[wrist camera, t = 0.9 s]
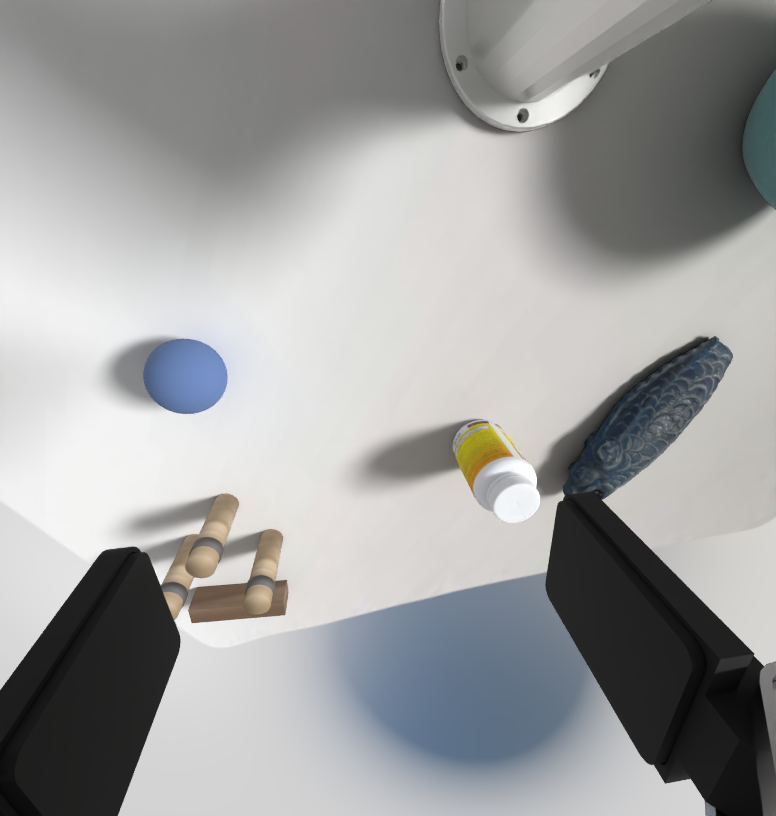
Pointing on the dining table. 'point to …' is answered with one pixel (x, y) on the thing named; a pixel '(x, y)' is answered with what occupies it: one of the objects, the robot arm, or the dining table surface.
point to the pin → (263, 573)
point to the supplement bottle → (496, 471)
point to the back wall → (232, 603)
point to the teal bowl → (762, 142)
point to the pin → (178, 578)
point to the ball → (185, 376)
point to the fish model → (648, 420)
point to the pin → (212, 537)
